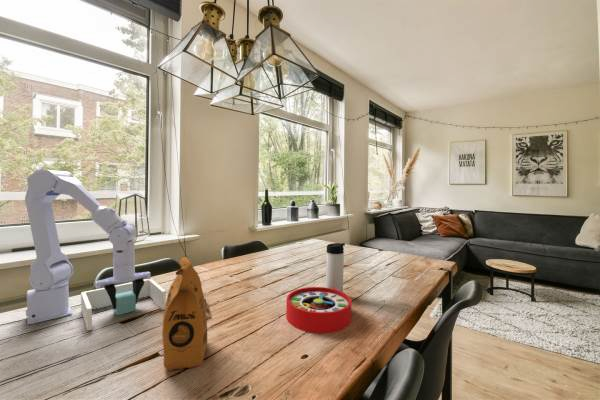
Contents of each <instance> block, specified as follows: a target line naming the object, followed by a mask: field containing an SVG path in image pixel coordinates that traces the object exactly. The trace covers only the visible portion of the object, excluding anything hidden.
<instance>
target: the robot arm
mask: <svg viewBox="0 0 600 400" xmlns="http://www.w3.org/2000/svg"><path fill="white" fill-rule="evenodd" d="M26 181H27V185H28V187H27V190H26V193H25V196H24V201H25V206H26V211H27V212H26V213H27V215H28V220H29V226H30V230H31V231H30V232H31V236H32V241H33V244H34V250H35V255H36V257H35V259H34V261H33V262H32V263H31V264H30V266H29V268H30V274H29V276H28V282H29V284H30V286H31V287H32V288H33V289H29V290H27V291H26V307H27V308H26V310H25V316H26V317H27V325H28V326H29V325H32V324H36V323H42V322H46V321H50V320H54V319H55V320H56V319H58V318H62V317H66V316H70V315H72V310H71V306H70V303H69V300H70V299H69V298H70V297H69V296H70V295H69V282H70V278H71V277H72V275H73V274H74V267H73V264H72V263H71V262H70V261H69V257H68V255H67V254H65V253H63V252H62V250H61V246H60V239H59V234H58V229H57V224H56V220H55V213H54V210H53V209H54V208H53V205H52V202H53V201H55V200H56V199H57V198H58V197H59V196H61V195H67V196H70V197H71V198H72V199H74V200H75V201H76V202H77V203H78V204H79V205H81V206H82V207H83V208H85V209H86V210H87V211H88V212H89V213H91V220H92V221H93V222H94V223H96V225H97V226H98V227H100V228H101V229H102V231H104V232H105V233H106V234H107V235H108V236H107V237H108V240H109V242H110V243H111V244H112V271H113V273H112V274H113V275H112V276H111V277H107V278H103V279H99V280H96V281H95V285H94V286H95V290H96V289H101V288H105V290H106V291H107V293H108V295H109V297H110V300H111V303H112V305H111V307H112V309H113V310H114V309H116V288H115V286H116V285H121V284H126V283H131V282H132V284H133V293H134V294H135V295H136V304H138V300H139V299H138V296H139V293H140V291H141V289H142V287H143V285H144V281H143V280H146V279H152V277H151V272H150V271H143V272H136V269H135V268H136V266H135V265H136V264H135V263H136V262H135V260H136V259H135V258H136V255H135V253H136V252H135V251H136V249H135V248H136V247H135V239H136V238H137V237H138V230H137V228H136V226H135V225H134V224H133V223H128V221H127V220H126V219H123V218H122V217H120V215H118V213H116V212H117V210H116V209H115V208H114V207H113V208H112V207H110V206H102V204H101V203H100V202H99V201H98V200H97V199H96V198H95V197H94V196H93V195H92V194H91V192H89V191H88V190H87V189H86V188H85V187H84V186H83V185H82V183H81V181H80V179H78V178H77V177H75V176H74V174H72V173H71V172H70V171H66V170H54V169H53V170H51V169H45V168H40V169H37V170H35V171H33V172H32V173H31V174H30V175H29V176H27V178H26Z"/></svg>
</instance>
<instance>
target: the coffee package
mask: <svg viewBox="0 0 600 400" xmlns="http://www.w3.org/2000/svg"><path fill="white" fill-rule="evenodd" d="M179 265H180V268H179V269H178V270H177V271H175V276H176V277H174V279H173V281H172V283H171V285H170V286H169V290H168V293H167V296H166V305H165V309H164V311H163V318H162V330H161V331H162V332H161V333H162V334H161V335H162V347H163V366H164V367H165V369H166V371H172V370H182V369H185V368H188V369H189V368H190V369H192V368H194V367H198V366H201V365H202V364H203V361H204V358H205V351H206V349H207V347H208V321H207V319H208V318H207V319H206V308H205V300H204V299H205V296H204V293H203V287H202V282H201V278H200V276H199V273H198V272H197V271H196V269H195V268H194V267H193V265H192V263H191V261H190V260H189V259H188V258H187V257H186V256H185V257H183V258H181V259H180V261H179Z"/></svg>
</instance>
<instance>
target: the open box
mask: <svg viewBox="0 0 600 400" xmlns="http://www.w3.org/2000/svg"><path fill="white" fill-rule="evenodd" d="M143 281H144V285H143V287H142V289H141V291H140V293H139V296H138V298H139V299H143V298H142V297H144V298H146V297H147V296H148V297H149V296H150V297H151V298H152V299H153V300H152V299H151V298H150V299H151V300H152V301H153V302H154V303H155V304H156V306H158V307H159V308H160V309H161V310H162V311H163V310H165V305H166V300H167V296H166V294H167V293H166V290H165V288H163V287H161V285H159V284H158V283H157V282H156V281H155V280H154V279H152V278H150V279H143ZM114 286H115V288H116V294H119V293H123V292H128V291H133V284H132V282H127V283H122V284H117V285H114ZM80 295H81V296H80V298H81V299H80V301H81V303H80V304H81V313H82V317H83V320H84V321H83V322H84V324H85V327H86V331H88V332H89V331H92V330H93V310H96V308H97V309H101V308H105V306H106V307H109V305H110V306H112V303H111V300H110V297H109V295H108V293H107V291H106V290H105V288H104V287H101V288H100V289H96V288H95V289H91V290H86V291H81V293H80ZM148 297H147V298H148ZM100 307H101V308H100ZM92 309H93V310H92Z"/></svg>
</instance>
